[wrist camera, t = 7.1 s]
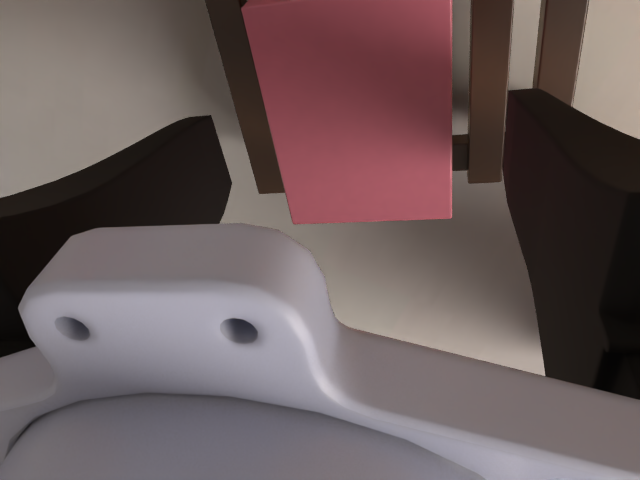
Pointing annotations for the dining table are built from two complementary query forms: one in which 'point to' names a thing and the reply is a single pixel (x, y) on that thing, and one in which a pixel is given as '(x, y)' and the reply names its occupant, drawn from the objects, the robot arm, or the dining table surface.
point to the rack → (484, 81)
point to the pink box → (357, 105)
